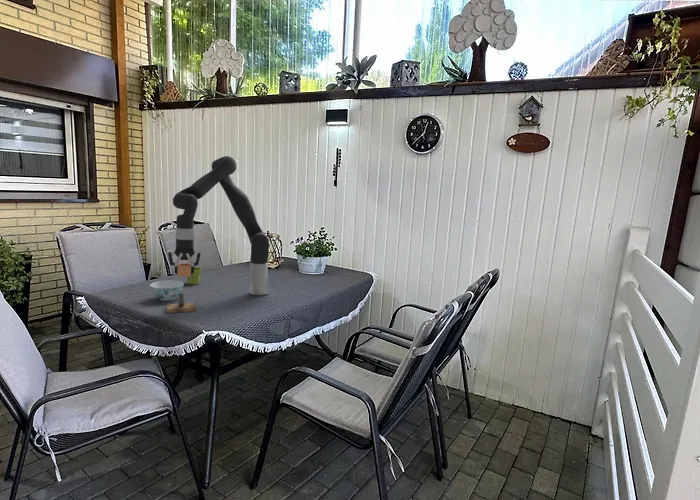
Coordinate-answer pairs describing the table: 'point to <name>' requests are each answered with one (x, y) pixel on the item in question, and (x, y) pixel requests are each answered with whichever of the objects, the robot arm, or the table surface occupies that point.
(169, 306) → the shaft block
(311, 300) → the table surface
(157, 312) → the table surface
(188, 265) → the orange hollow square block
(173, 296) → the chinaware
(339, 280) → the table surface
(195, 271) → the plant pot
